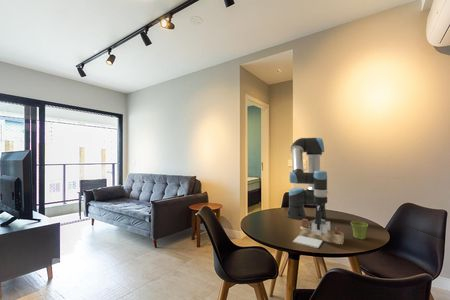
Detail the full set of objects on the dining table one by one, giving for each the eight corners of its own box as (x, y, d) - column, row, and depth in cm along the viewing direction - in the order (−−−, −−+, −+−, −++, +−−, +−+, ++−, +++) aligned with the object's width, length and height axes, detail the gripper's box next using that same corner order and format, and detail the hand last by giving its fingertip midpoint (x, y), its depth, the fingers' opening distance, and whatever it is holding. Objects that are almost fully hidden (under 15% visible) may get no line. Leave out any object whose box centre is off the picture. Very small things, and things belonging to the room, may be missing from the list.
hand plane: (299, 235, 139) (299, 219, 139) (302, 232, 144) (302, 217, 144) (342, 244, 125) (342, 227, 125) (343, 241, 130) (343, 224, 130)
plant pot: (347, 235, 140) (347, 221, 140) (361, 234, 141) (361, 221, 141) (357, 241, 130) (357, 226, 131) (372, 240, 131) (372, 225, 131)
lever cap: (311, 230, 134) (311, 221, 134) (314, 227, 140) (314, 217, 141) (327, 233, 129) (327, 223, 129) (330, 229, 135) (330, 220, 135)
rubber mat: (292, 242, 129) (292, 241, 129) (298, 236, 138) (298, 235, 138) (318, 248, 120) (318, 247, 120) (322, 241, 129) (322, 240, 129)
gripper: (323, 200, 124) (323, 239, 123) (330, 193, 142) (331, 228, 142) (309, 198, 128) (309, 236, 128) (318, 192, 146) (318, 226, 146)
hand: (320, 232), depth 135 cm, fingers open, 10 cm apart
